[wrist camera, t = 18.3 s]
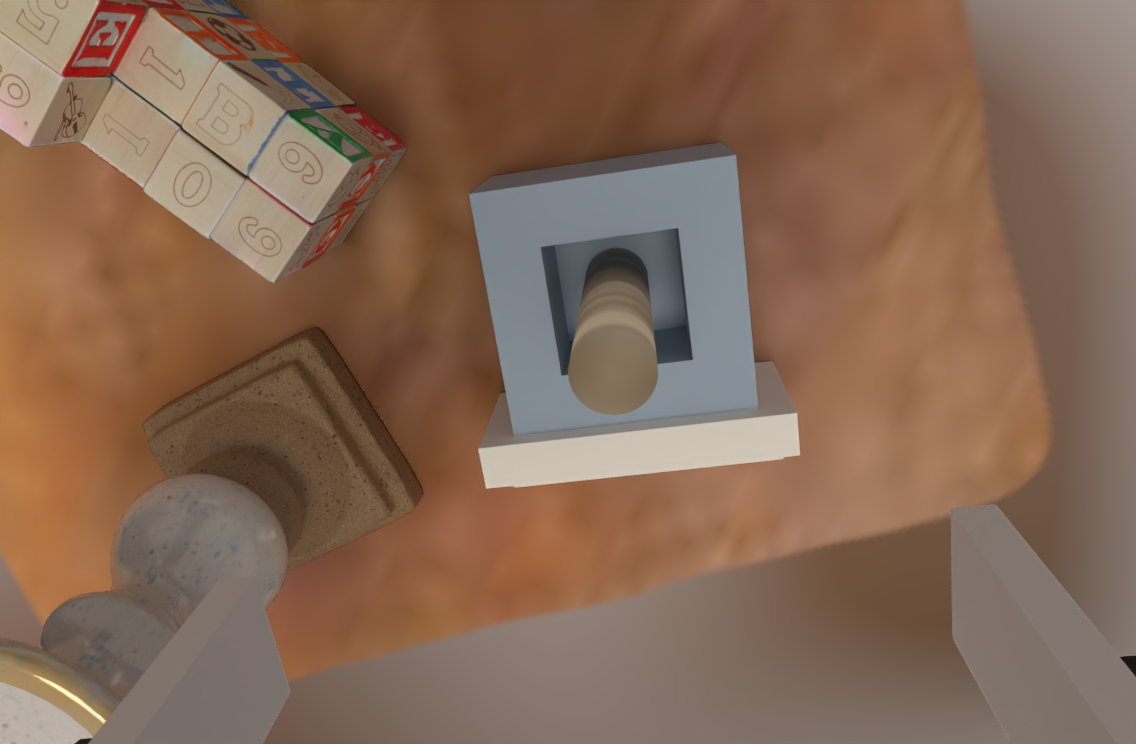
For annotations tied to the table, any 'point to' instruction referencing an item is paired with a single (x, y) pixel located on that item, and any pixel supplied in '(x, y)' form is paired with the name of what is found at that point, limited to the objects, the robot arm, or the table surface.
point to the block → (674, 266)
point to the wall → (643, 442)
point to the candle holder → (213, 526)
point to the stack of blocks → (197, 119)
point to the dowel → (614, 336)
